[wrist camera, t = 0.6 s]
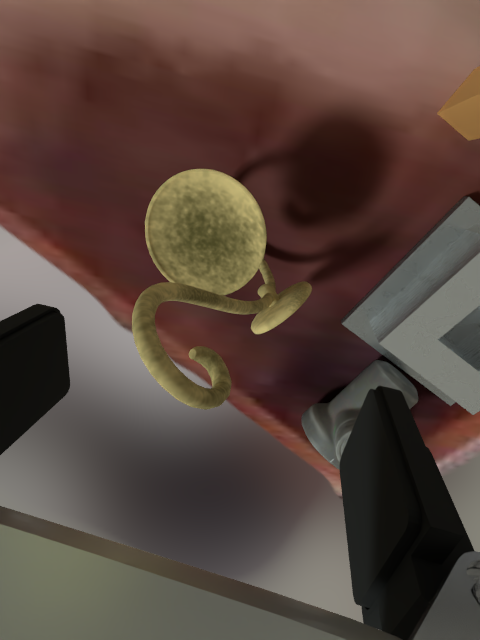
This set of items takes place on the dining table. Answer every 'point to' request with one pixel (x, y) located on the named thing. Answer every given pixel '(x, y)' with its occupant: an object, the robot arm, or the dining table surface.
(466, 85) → the orange rectangular block
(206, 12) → the dining table surface
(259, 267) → the wall sconce
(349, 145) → the dining table surface
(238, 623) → the robot arm
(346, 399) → the pipe fitting
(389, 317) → the square hole block
